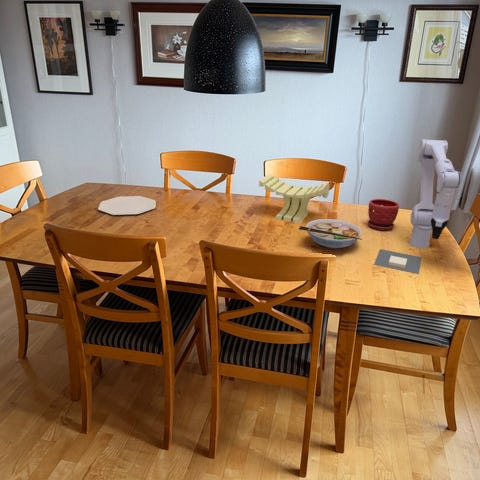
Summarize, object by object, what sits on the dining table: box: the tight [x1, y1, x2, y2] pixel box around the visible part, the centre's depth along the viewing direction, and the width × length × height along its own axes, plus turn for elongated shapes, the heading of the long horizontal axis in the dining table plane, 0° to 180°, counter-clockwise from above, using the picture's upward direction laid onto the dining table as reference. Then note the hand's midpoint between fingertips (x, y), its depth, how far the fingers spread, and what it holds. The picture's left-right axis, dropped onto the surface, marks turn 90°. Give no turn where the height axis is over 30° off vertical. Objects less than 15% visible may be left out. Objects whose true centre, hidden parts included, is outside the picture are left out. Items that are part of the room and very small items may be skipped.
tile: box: [388, 256, 407, 268], centre depth 161 cm, size 2×6×6 cm
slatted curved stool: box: [258, 173, 330, 224], centre depth 204 cm, size 30×16×18 cm, turn 66°
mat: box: [373, 248, 423, 275], centre depth 164 cm, size 16×16×1 cm
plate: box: [97, 195, 157, 216], centre depth 213 cm, size 28×28×2 cm
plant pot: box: [367, 198, 400, 231], centre depth 196 cm, size 13×13×12 cm
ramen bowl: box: [298, 218, 363, 249], centre depth 176 cm, size 25×23×8 cm
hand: (435, 238), depth 160 cm, fingers closed
